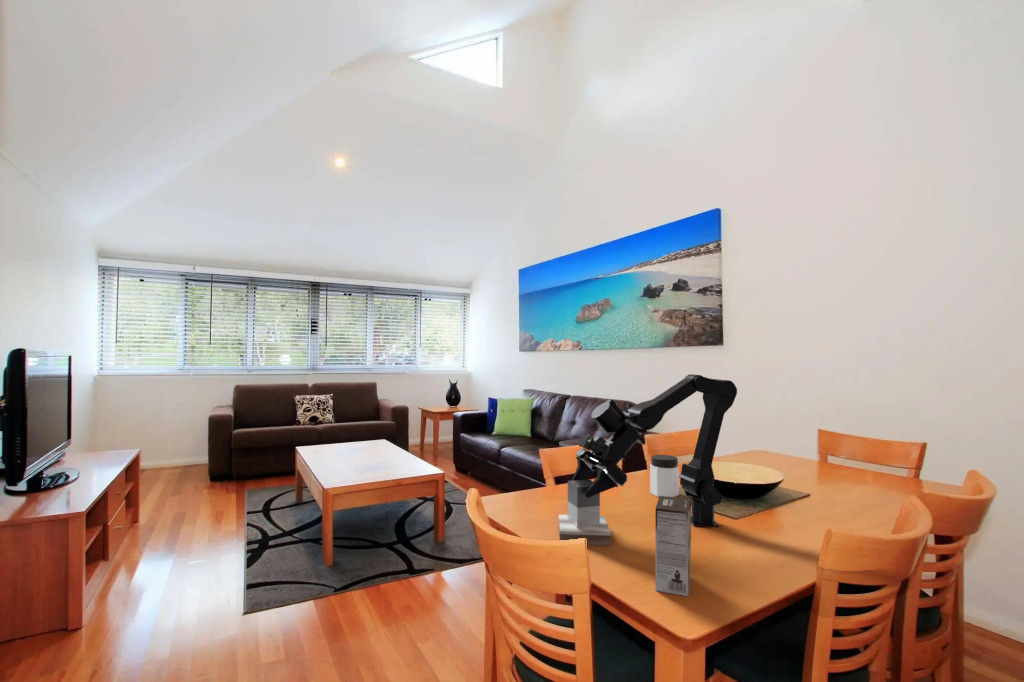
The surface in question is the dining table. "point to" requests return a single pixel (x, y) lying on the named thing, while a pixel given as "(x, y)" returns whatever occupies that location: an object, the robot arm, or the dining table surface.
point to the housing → (582, 505)
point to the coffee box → (673, 545)
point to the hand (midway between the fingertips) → (578, 491)
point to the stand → (585, 532)
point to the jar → (664, 476)
